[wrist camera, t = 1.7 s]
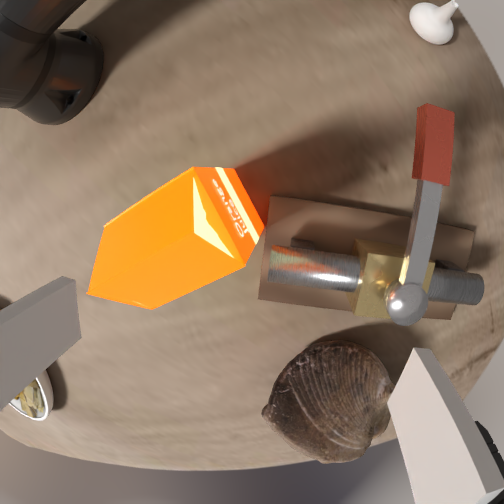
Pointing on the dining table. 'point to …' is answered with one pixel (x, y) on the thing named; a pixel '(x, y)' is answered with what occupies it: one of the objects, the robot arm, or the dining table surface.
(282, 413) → the seashell
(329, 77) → the dining table surface
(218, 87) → the dining table surface
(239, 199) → the orange juice
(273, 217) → the mounting board
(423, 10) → the garlic bulb
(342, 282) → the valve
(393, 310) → the valve lever
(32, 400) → the bowl
